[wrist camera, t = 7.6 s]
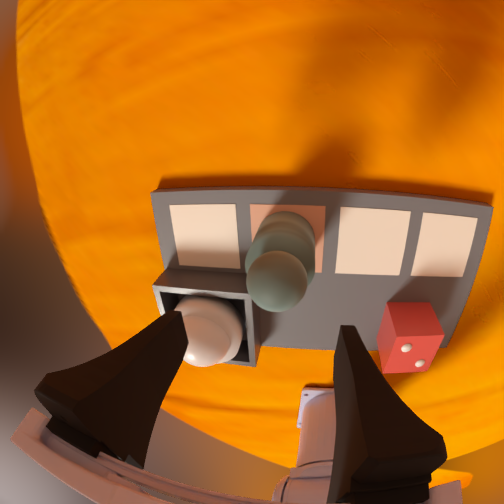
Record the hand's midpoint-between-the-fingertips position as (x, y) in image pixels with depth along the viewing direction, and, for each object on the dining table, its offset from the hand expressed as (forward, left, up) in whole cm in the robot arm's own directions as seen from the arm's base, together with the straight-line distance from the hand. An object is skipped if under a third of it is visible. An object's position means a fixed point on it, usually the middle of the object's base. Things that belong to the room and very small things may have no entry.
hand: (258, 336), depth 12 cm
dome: (-6, +5, -7) cm, 11 cm away
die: (-6, -11, -9) cm, 15 cm away
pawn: (+1, 0, -9) cm, 9 cm away
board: (-3, -3, -10) cm, 11 cm away
